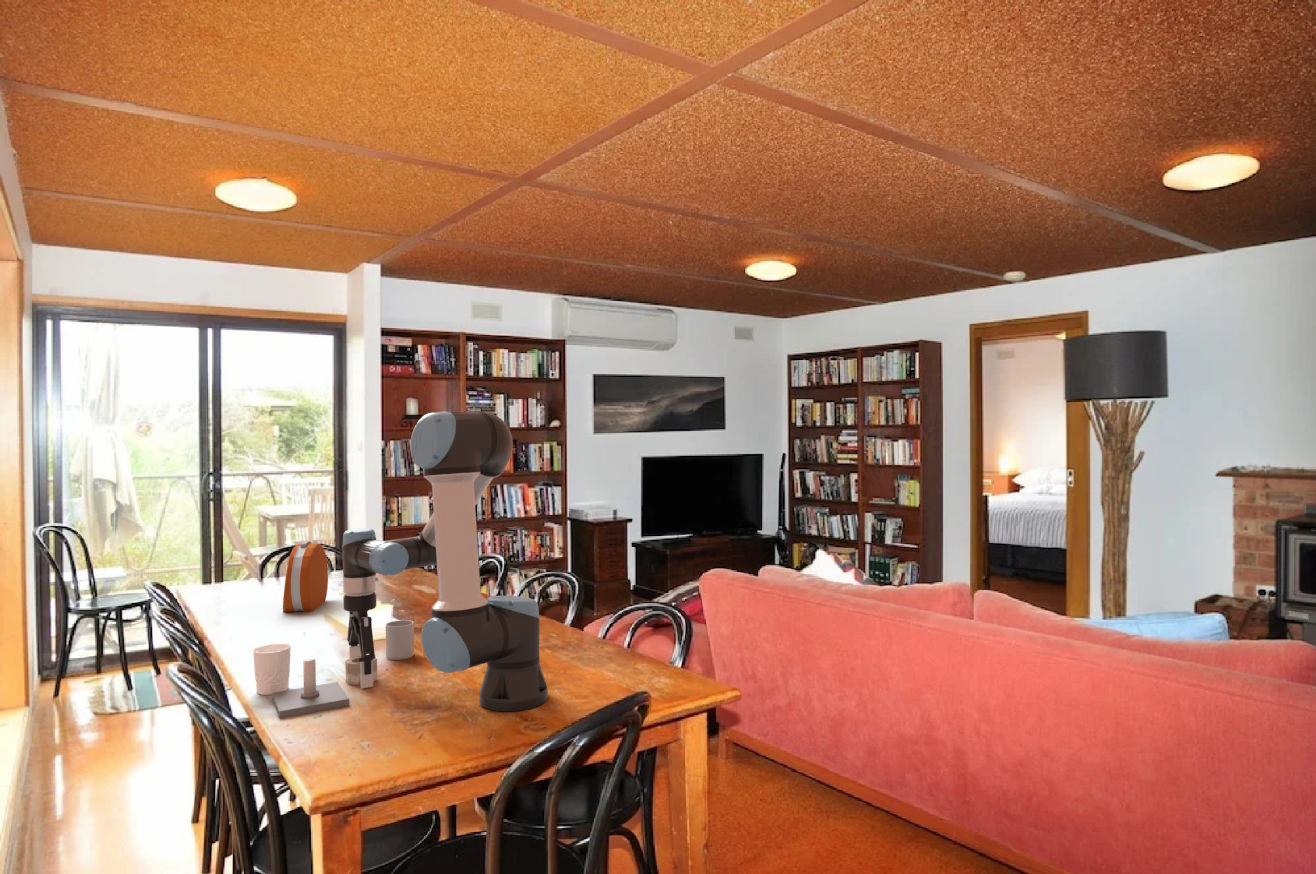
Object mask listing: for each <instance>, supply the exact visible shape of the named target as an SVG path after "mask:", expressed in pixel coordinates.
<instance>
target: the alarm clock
mask: <svg viewBox="0 0 1316 874" xmlns="http://www.w3.org/2000/svg"><path fill="white" fill-rule="evenodd" d="M327 559H328V558H327V555H326V551H325V549H324V547H323V545H322V544H320V543H312V541H310V540H308V541H307V540H306V541H304V540H303V541H302V542H301V543H298V544H295V546H294V547H293V548H292V550H291V552H290V554H289V558H288V561H287V566H286V573H285V579H284V586H283V588H284V589H283V599H282V612H283V613H295V612H297V611H303V612H313V611H315V610H316V609H318V608H319V607H320V606H322V605H323V604H325V603H326V600H327V595H328V588H329V587H328V584H329V568H328V567H329V566H328V560H327Z"/></svg>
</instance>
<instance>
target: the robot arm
mask: <svg viewBox="0 0 1316 874" xmlns="http://www.w3.org/2000/svg"><path fill="white" fill-rule="evenodd" d="M416 423H417V424H416V425H415V426H414V428H413V431H412V432H411V433H412V434H411V437H410V443H409V445H410V446H409V447H410V449H409V450H410V455H411V458H412V460H413V463H414V464H415V466H417V467H418V468H421V469H422V470H423V478H425V479H426V480H427V481H428V482H429V483H430V484H431V487H432V489H431V490H432V501H433V502H432V504H433V505H432V507H433V513H432V514H431V516H430V518H429V519H428V521H427V523H426V525H425V526H424V527H423V529H422V530H421V532H420V533H419V535H417V536H413V537H411V536H410V537H403V538H396V539H390V540H389V539H388V540H379V539H378V540H377V536H376V532H375V530H374V529H373V528H354V529H347V530H346V531H344V533H343V535H342V545H341V548H342V574H343V575H342V592H343V593H344V595H343V604H342V605H343V610H344V611H346V612H349V613H348V615H349V617H348V628H347V638H346V641H347V642H348V650H349V651H348V655H349V657H348V659H350V658H352V657H359V656H361V658H359V660H358V661H359V662H360V673H361V685H360V689H367V688H373V687H374V681H373V659H375V657H376V654H375V646H374V645H375V643H374V636H373V626H372V620H373V619H372V616H369V615H368V611H371V610H374V609H375V608H377V593H376V592H375V591H376V590H377V583H376V582H378V581H379V577H376V576H377V575H376V574H379V575H382V576H395V575H398V574H400V573H402V572H403V571H406V570H411V569H416V568H422V567H430V566H436V569H437V570H436V573H437V589H438V590H437V592H438V599H436V602H435V603H434V604H433V605H432V606H431V615H432V618H429V619H428V620H427V621H425V622H424V624H423V627H422V629H421V635H420V636H421V637H420V639H421V645H422V648H423V651H424V654H425V656H426V659H428V661H429V662H430V664H431V665H432V666H433V667H434V668H435V669H436V670H438V671H439V672H443V673H446V674H449V673H455V672H459V671H460V672H464V671H467V669H471V668H473V667H477V666H480V665H484V664H486V670H485V674H484V677H483V680H482V682H481V687H480V690H479V694H478V695H479V697H478V699H479V705H480V706H481V707H483V708H484V709H487V710H491V711H494V712H496V711H497V712H518V711H524V710H530V709H534V708H536V707H539V706H541V705H543V704H544V703H546V702H547V700H548V699H549V688H548V684H547V681H546V678H545V676H544V674H543V669H542V666H541V664H540V662H541V661H540V659H541V658H540V619H541V617H540V614H539V611H540V610H539V604H538V602H537V600H535V599H533V598H530V597H526V596H525V597H524V596H517V595H516V596H515V595H491V596H488V597H486V598H485V597H484V596H483V595H482V593H481V582H480V581H481V580H480V566H479V564H480V562H479V550H478V549H479V548H478V547H479V546H478V533H477V532H478V531H477V530H478V529H477V528H478V527H477V516H476V515H477V513H476V505H477V503H478V502H479V500H481V498H482V496H483V495H484V493H485V491H486V490H487V489H488V487H489V485H490V483H491V482H492V481H493V479H495V478H498V477H500V476H501V475H502V474H503V472H504V470H505V469H506V467H507V466H508V464H509V461H510V459H511V457H512V454H513V453H512V452H513V448H514V444H513V443H514V442H513V435H512V433H511V429H510V428H509V426H508V424H507V423H505V421H504V420H503V419H502V418H500V417H499V416H498V415H496V414H493V413H491V412H486V411H478V412H477V411H475V412H471V411H469V412H468V411H438V412H430V413H426V414H424V415H423V416H422V417H421V418H420V419H419V420H418V421H417V422H416Z"/></svg>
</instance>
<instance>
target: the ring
mask: <svg viewBox="0 0 1316 874" xmlns="http://www.w3.org/2000/svg"><path fill="white" fill-rule="evenodd" d="M359 658H361V656H359V657H352V658H350V659H349V658H348V659H346V660H345V661H344V662H345V664H344V665H345V666H344V667H345V682H346V684H347V685H348V686H349V685H352V686H361V673H360V662H359V661H358V660H359ZM377 680H378V659H377V658H376V656H375V659H373V682H375V681H377Z"/></svg>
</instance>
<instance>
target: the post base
mask: <svg viewBox="0 0 1316 874" xmlns="http://www.w3.org/2000/svg"><path fill="white" fill-rule="evenodd" d="M302 663H303V665H302V667H303V672H302V673H303V687H299V688H294V689H288V690H286V691H280V692H274V693H272V695H271V698H272V699H271V700H272V702H273V703H272V704H274V708H275V710H276V713H277V716H278V718H279V719H281V718H283V719H285V718H288V717H293V716H299V715H304V714H310V713H315V712H321V711H326V710H327V711H328V710H333V709H337V708H342V707H348V706H350V699H349V697H348V696H347V694H346V692H345V691H344V689H343V688H342V686H341V685H340V683H339V681H333V682H328V683H323V684H317V679H316V677H317V673H316V672H317V671H316V666H317V665H316V663H317V662H316V658H307V659H304V660H303V662H302Z"/></svg>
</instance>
